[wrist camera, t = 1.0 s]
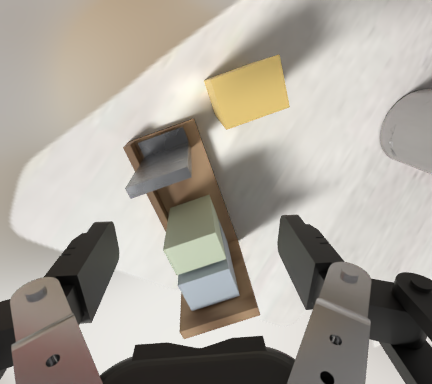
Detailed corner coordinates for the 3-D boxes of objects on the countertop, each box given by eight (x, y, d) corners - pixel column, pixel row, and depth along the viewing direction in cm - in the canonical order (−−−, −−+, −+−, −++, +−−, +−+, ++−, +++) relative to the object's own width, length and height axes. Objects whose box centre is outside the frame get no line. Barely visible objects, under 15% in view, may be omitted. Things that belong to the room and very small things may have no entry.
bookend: (182, 126, 29) (179, 146, 20) (191, 148, 30) (191, 177, 21) (138, 142, 29) (115, 169, 20) (148, 163, 30) (130, 198, 21)
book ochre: (250, 63, 28) (279, 54, 19) (258, 99, 29) (289, 107, 20) (203, 80, 28) (210, 79, 19) (215, 115, 30) (226, 129, 21)
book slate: (218, 218, 34) (228, 268, 25) (227, 241, 36) (239, 295, 27) (181, 231, 34) (177, 285, 25) (191, 253, 36) (191, 311, 27)
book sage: (209, 194, 33) (215, 232, 24) (217, 216, 34) (226, 258, 26) (169, 208, 33) (163, 250, 25) (179, 229, 34) (176, 275, 26)
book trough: (193, 118, 30) (196, 142, 18) (238, 241, 37) (260, 314, 26) (128, 141, 30) (88, 181, 18) (185, 258, 38) (184, 339, 26)
